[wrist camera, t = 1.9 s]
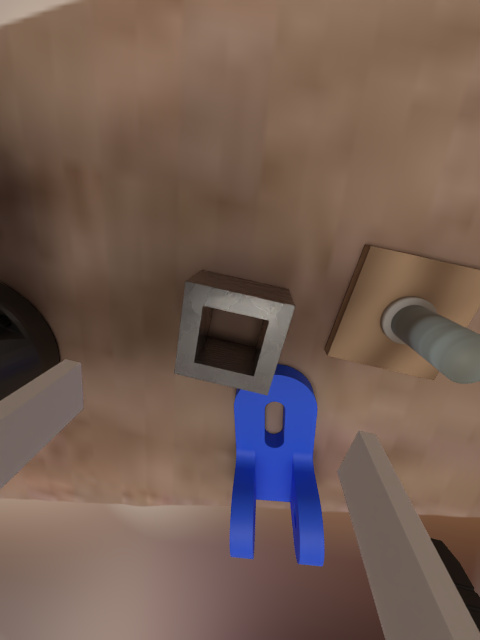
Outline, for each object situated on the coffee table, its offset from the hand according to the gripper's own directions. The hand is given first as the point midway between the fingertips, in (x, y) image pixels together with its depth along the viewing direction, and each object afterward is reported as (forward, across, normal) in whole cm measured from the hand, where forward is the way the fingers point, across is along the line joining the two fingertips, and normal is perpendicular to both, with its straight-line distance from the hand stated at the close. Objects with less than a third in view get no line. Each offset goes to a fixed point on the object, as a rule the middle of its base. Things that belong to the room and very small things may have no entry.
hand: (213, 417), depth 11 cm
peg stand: (+13, +14, +4) cm, 19 cm away
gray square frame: (+13, 0, 0) cm, 13 cm away
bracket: (+13, +6, -12) cm, 19 cm away
